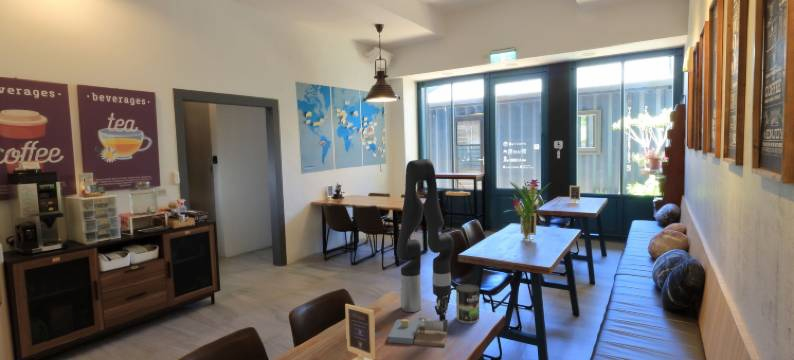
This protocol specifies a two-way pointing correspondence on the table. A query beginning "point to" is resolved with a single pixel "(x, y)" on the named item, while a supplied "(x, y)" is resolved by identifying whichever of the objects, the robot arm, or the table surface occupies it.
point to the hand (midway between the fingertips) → (442, 322)
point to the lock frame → (407, 332)
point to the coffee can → (467, 303)
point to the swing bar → (433, 324)
